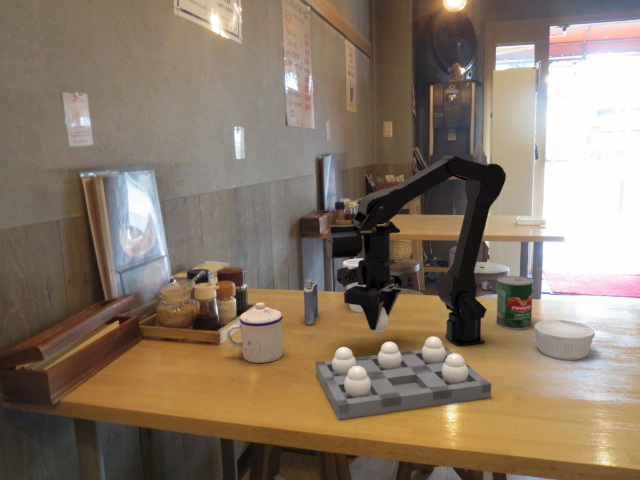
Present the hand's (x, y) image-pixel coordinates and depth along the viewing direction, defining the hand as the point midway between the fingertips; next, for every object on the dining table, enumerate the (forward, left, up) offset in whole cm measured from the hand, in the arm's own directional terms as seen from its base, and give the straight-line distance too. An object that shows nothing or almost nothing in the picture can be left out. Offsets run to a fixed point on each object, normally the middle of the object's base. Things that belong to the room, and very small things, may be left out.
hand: (378, 326), depth 112 cm
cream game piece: (0, 0, -1) cm, 1 cm away
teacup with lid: (+26, -5, -6) cm, 27 cm away
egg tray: (+2, +17, -6) cm, 18 cm away
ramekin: (-36, +12, -6) cm, 38 cm away
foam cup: (-5, -30, -6) cm, 31 cm away
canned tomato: (-36, -6, -6) cm, 37 cm away
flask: (+10, -25, -6) cm, 28 cm away
